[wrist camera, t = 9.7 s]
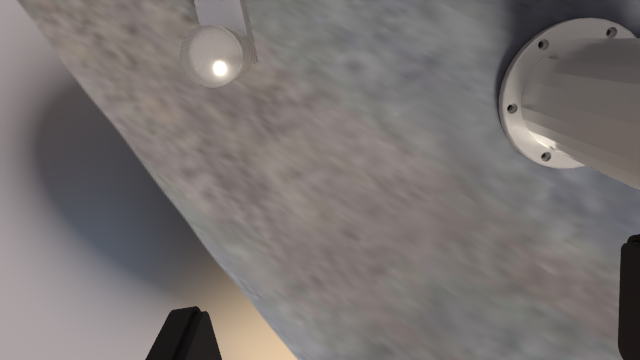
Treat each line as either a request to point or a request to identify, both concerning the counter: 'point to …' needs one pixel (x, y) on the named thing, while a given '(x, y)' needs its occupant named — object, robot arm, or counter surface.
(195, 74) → the shaft
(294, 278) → the counter surface
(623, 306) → the robot arm
